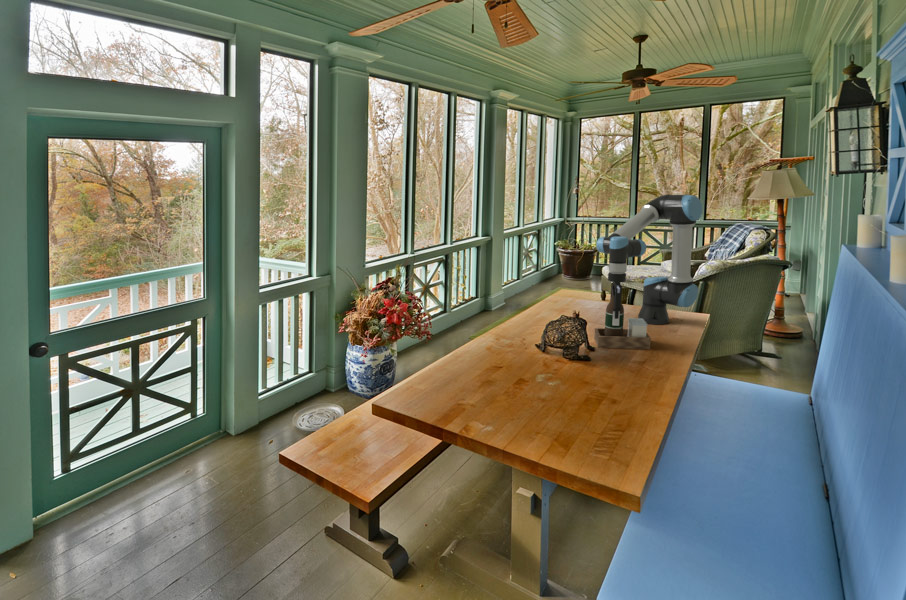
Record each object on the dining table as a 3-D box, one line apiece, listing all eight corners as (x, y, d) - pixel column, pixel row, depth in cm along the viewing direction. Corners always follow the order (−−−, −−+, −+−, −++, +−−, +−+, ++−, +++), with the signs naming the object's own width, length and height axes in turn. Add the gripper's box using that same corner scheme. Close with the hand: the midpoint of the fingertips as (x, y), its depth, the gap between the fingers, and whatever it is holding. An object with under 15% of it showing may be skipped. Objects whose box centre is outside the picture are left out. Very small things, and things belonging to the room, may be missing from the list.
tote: (643, 340, 250) (644, 329, 249) (649, 349, 237) (650, 338, 236) (594, 338, 253) (594, 328, 252) (597, 347, 240) (598, 336, 239)
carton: (641, 338, 249) (642, 318, 246) (646, 345, 238) (647, 324, 236) (626, 338, 249) (628, 318, 247) (630, 345, 239) (632, 324, 237)
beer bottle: (613, 339, 240) (616, 285, 234) (600, 335, 246) (603, 282, 241) (626, 337, 243) (629, 284, 238) (613, 333, 250) (616, 281, 245)
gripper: (605, 268, 249) (602, 317, 254) (611, 276, 229) (608, 328, 234) (622, 268, 248) (619, 317, 253) (630, 276, 228) (626, 329, 233)
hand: (614, 322), depth 243 cm, fingers closed on beer bottle, 8 cm apart
